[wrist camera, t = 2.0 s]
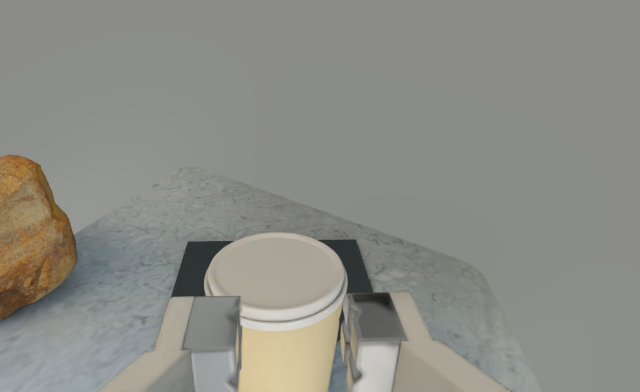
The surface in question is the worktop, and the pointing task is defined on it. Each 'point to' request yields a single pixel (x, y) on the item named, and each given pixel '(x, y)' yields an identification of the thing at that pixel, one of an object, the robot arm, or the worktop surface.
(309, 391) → the coffee cup
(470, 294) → the worktop surface
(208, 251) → the slate mat
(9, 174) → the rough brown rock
